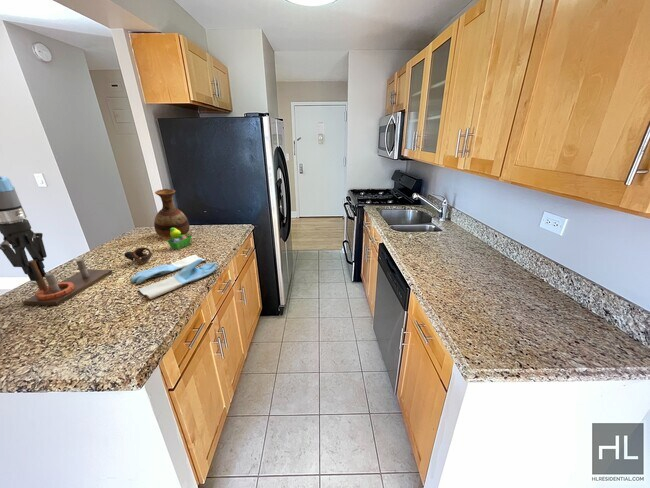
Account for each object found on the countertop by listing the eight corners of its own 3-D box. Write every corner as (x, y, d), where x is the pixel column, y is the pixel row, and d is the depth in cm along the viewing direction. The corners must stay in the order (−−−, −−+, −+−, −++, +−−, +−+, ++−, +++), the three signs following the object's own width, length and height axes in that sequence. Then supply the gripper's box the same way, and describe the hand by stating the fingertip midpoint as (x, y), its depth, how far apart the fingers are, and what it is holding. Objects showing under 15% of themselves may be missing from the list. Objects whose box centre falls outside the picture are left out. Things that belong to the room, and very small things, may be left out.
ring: (27, 299, 99) (11, 267, 94) (55, 284, 109) (43, 255, 104) (55, 300, 98) (41, 268, 93) (81, 285, 108) (69, 255, 103)
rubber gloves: (124, 279, 116) (120, 266, 114) (195, 255, 140) (193, 244, 138) (150, 300, 101) (145, 286, 98) (224, 269, 125) (222, 257, 122)
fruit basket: (177, 250, 146) (173, 231, 142) (166, 248, 149) (161, 230, 145) (193, 243, 156) (190, 226, 152) (183, 241, 159) (179, 224, 155)
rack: (24, 304, 98) (13, 282, 95) (86, 272, 122) (78, 253, 119) (57, 305, 98) (47, 283, 94) (112, 272, 122) (106, 254, 118)
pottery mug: (153, 256, 140) (153, 245, 135) (151, 270, 134) (151, 259, 129) (126, 254, 134) (125, 244, 129) (122, 269, 129) (121, 258, 123)
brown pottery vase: (156, 242, 158) (144, 193, 147) (157, 232, 174) (146, 188, 163) (192, 236, 167) (182, 190, 156) (189, 228, 183) (180, 185, 172)
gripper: (-4, 227, 85) (26, 289, 94) (44, 215, 100) (66, 269, 108) (-26, 227, 86) (6, 288, 95) (25, 215, 100) (49, 269, 109)
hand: (38, 278), depth 101 cm, fingers closed on ring, 2 cm apart
